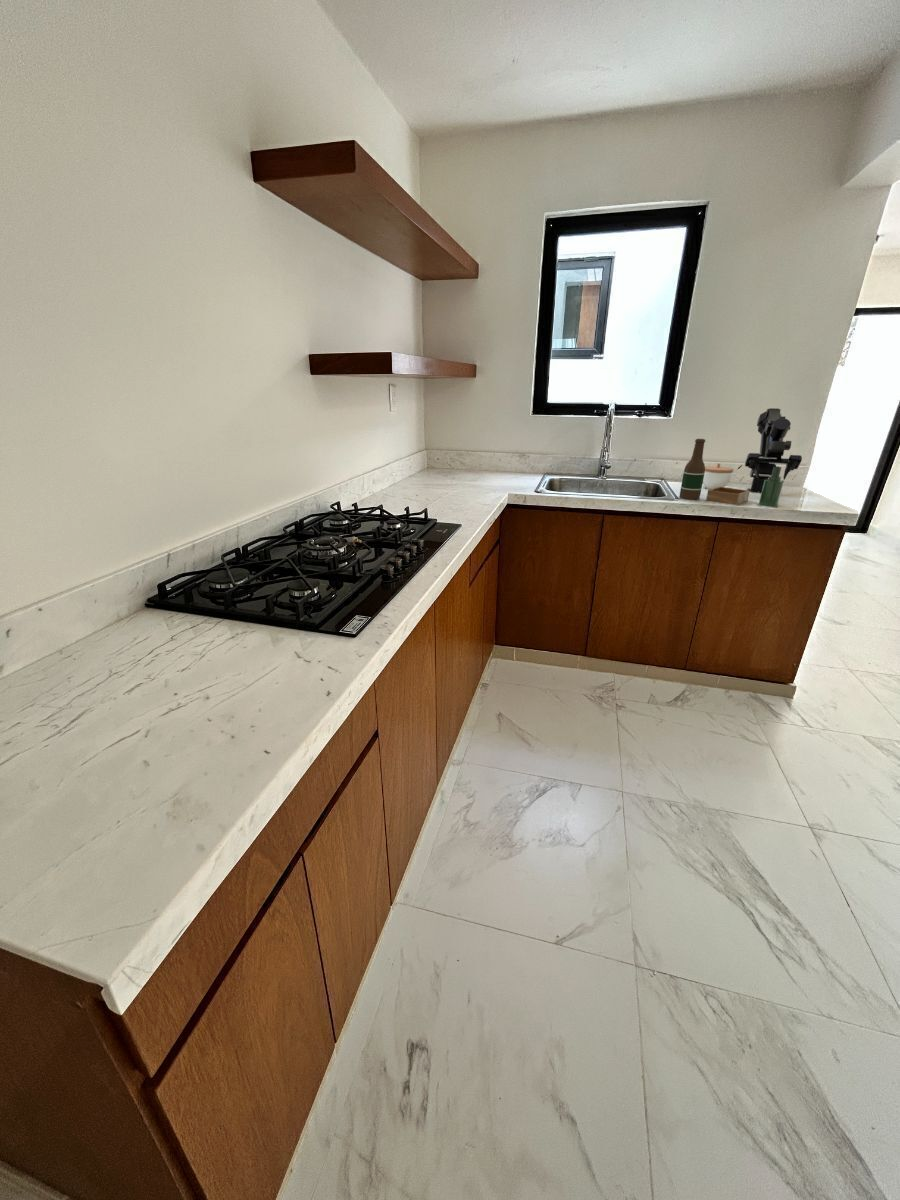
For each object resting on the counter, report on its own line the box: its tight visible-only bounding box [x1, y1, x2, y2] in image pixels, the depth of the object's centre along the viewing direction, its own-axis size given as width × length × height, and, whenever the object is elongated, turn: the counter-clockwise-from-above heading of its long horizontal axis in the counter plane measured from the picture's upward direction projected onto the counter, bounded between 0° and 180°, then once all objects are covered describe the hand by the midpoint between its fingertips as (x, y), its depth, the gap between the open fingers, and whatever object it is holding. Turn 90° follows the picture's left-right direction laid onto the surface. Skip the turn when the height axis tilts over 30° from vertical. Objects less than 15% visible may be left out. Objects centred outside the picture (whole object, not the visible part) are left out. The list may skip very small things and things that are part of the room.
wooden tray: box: [705, 486, 751, 506], centre depth 203 cm, size 12×12×4 cm
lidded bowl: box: [702, 463, 734, 490], centre depth 229 cm, size 13×13×11 cm
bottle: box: [758, 466, 785, 508], centre depth 193 cm, size 6×6×15 cm
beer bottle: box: [679, 438, 706, 501], centre depth 203 cm, size 8×8×24 cm
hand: (771, 478), depth 199 cm, fingers open, 9 cm apart
